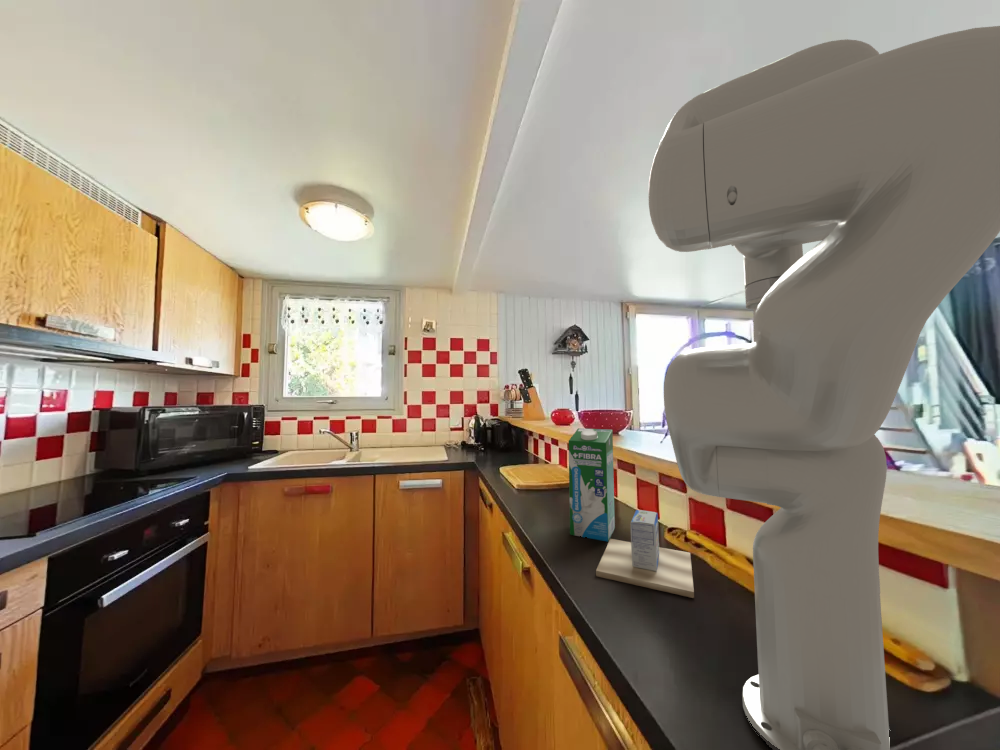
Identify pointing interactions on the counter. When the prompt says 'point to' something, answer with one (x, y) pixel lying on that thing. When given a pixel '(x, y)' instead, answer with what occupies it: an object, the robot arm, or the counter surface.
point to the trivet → (668, 577)
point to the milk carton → (591, 484)
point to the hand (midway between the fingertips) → (779, 401)
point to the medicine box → (645, 540)
